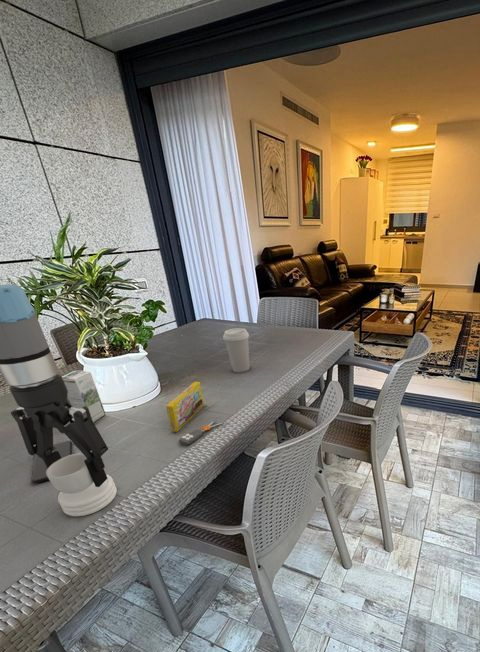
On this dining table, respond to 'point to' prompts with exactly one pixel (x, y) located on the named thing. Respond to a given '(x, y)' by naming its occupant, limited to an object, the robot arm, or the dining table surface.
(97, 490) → the coaster
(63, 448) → the smartphone
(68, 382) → the syrup box
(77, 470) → the teacup
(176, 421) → the candy box
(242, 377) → the dining table surface
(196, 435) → the key chain
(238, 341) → the coffee cup
